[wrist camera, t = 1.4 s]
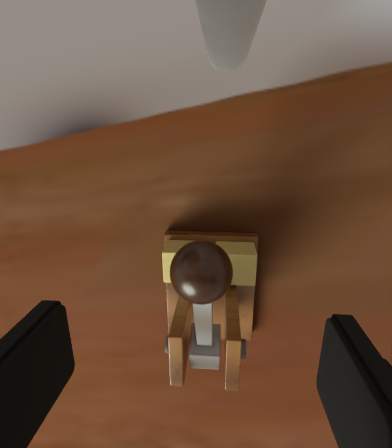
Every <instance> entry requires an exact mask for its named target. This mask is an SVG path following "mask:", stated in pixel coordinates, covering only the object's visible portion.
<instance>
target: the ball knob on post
mask: <svg viewBox="0 0 392 448" xmlns="http://www.w3.org/2000/svg"><path fill="white" fill-rule="evenodd" d="M232 278H233V267H232V263H231V260H230V258H229V256H228V254H227V253H226V252H225V251H224V250H223V249H222V248H221V247H220V246H218V245H217V244H215V243H213V242H209V241H204V240H199V241H193V242H190V243H188V244H186V245H184V246H183V247H182V248H180V249H179V250H178V251H177V252H176V254H175V256H174V257H173V259H172V262H171V265H170V279H171V283H172V286H173V288H174V289H175V291H176V292H177V293H178V295H179V296H180V297H182V298H183V299H184V300H186V301H188V302H190V303H193V312H194V321H195V323H192V324H191V335H190V346H189V359H190V364H191V368H202V369H217V370H219V369H220V334H221V325H220V324H213V302H215V301H217V300H219V299H220V298H221V297H223V296H224V295H225V293H226V292H227V291H228V289H229V287H230V285H231V283H232Z"/></svg>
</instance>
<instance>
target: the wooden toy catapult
mask: <svg viewBox="0 0 392 448" xmlns="http://www.w3.org/2000/svg"><path fill="white" fill-rule="evenodd" d="M168 240H191V241H199V240H204V241H209V242H213V243H215V244H216V241H225V242H254V245H255V249H256V252H258V235H257V233H239V232H200V231H166V232H165V234H164V245H165V246H166V244H167V242H168ZM166 290H167V313H168V335H167V337H166V342H165V353H166V354H169V370H170V386H180V387H183V386H184V380H185V373H186V367H187V360H188V353H189V346H190V335H191V324H192V323H195V321H194V312H193V303H190V302H188V301H186V300H184V299H183V298H182V297H180V296H179V295H178V293H177V292H176V291H175V289H174V288H173V286H172V283H167V282H166ZM254 295H255V286H241V285H230V287H229V289H228V291H227V292H226V293H225V295H224V296H223V297H221V298H220V299H219V300H217V301H215V302H213V324H220V325H221V334H220V339H221V340H224V349H225V390H234V391H239V377H240V359H245V358H246V341H251V338H252V324H253V309H254Z"/></svg>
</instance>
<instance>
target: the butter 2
mask: <svg viewBox="0 0 392 448" xmlns="http://www.w3.org/2000/svg"><path fill="white" fill-rule="evenodd" d="M216 244H217V245H218V246H220V247H221V248H222V249H223V250H224V251H225V252H226V253H227V254H228V256H229V258H230V260H231V263H232V267H233V278H232V283H231V285H241V286H255V284H256V269H257V252H256V249H255V245H254V242H225V241H216Z"/></svg>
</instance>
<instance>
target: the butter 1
mask: <svg viewBox="0 0 392 448" xmlns="http://www.w3.org/2000/svg"><path fill="white" fill-rule="evenodd" d="M190 242H193V241H191V240H168V242H167V244H166V246H165V248H164V250H163V252H162V259H163V280H164V282H167V283H171V279H170V265H171V262H172V259H173V257H174V256H175V254H176V252H177V251H178V250H179V249H180V248H182V247H183V246H184V245H186V244H188V243H190Z"/></svg>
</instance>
